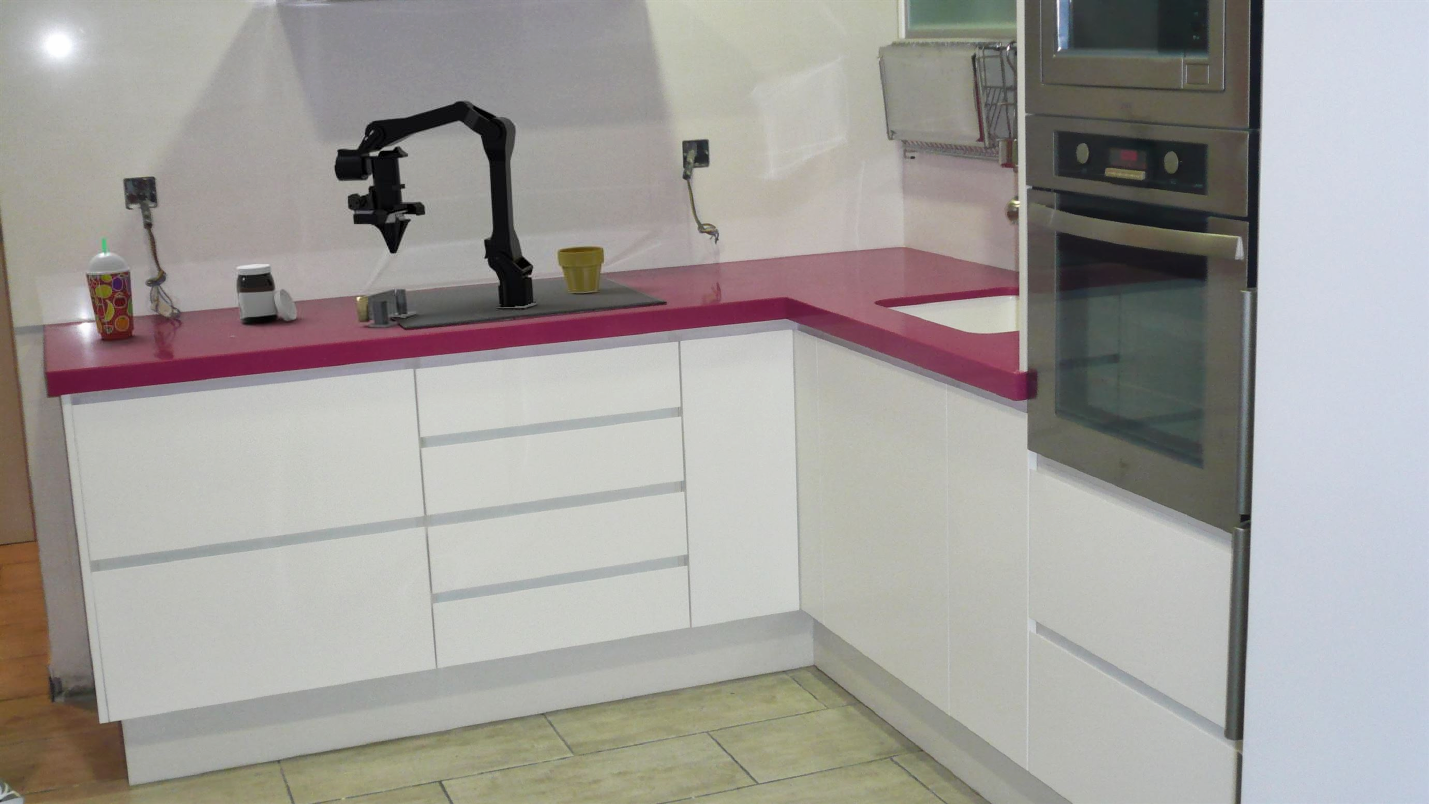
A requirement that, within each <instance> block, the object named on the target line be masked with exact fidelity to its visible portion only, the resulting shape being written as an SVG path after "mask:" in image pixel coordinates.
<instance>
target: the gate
mask: <svg viewBox="0 0 1429 804" xmlns="http://www.w3.org/2000/svg"><path fill="white" fill-rule="evenodd" d="M355 298H356V307H357V317H358V319H357V320H358V323H370V322H371V321H374V314H373V304H372V302H373V301H377V300H386V301H387V312H388V315H392V314H395V313H397V306H396V295H395V288H389V289H385V290H382V291H381V290H380V291H378V292H374V293H370V294H366V295H361V296H356V297H355Z"/></svg>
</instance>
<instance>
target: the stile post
mask: <svg viewBox="0 0 1429 804" xmlns="http://www.w3.org/2000/svg"><path fill="white" fill-rule="evenodd" d="M372 304H373V314H374V320H373V322H374V323H371V324H369V328H382V329H385V328H389V327H393V326H396V325H398V321H389V318H388V312H387V301H386V300H377V301H373V302H372Z"/></svg>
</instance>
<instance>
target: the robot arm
mask: <svg viewBox="0 0 1429 804" xmlns="http://www.w3.org/2000/svg"><path fill="white" fill-rule="evenodd" d="M457 122H461V123H463V124H464V125H465V126H466V127H467V128H469V129H470V130H471V131H472V132H473V133H476V134H477V135H479V136H480V140H481V144H482V147H483V151H484V153H485V155H486V158H487V159H488V160H487V161H488V164H489V165H488V166H489V182H490V185H489V186H490V200H491V201H490V202H491V216H492V217H491V219H492V231H491V236H489V237H487V238H484V240H483V244H484V248H485V249H484V251H485V253H484V257H483V259H484V260H487V264H488V267H489V268H491V270H492V271H493V272H495V274H496V276H497V279H498V282H499V285H498V286H497V289H498V290H497V291H498V300H499V301H498V304H499V305H497V307H515V306H525V305H528V304H531V303H534V302H535V301H534V300H535V299H534V289H533V288H534V287H533V277H532V273H533V270H534V265H533V264H532V263H531V262H530V261H529V260H528V259H527V258H526V257H525V256H523V253H522V248H521V247H522V246H521V243H520V239H519V237H518V235H517V233H516V230H515V226H514V207H513V205H514V204H513V189H512V187H513V186H512V185H513V184H512V171H511V169H512V167H511V161H512V155H513V152H514V149H515V141H516V135H517V134H516V133H517V129H516V125H515V123H514V122H513V121H512V120H511V119H510V118H507V117H506V116H501V117H500V116H499V117H498V116H497V115H495V114H493V113H491V112H489V111H487V110H485V109H483V108H481V107H478V106H477V105H475V104H473V103H472V102H471V101H470V100H458V101H455V102H454V103H451V104H449V105H448V104H447V105H444V106H442V107H438V108H434V109H431V110H427V111H424V112H421V113H420V112H419V113H417V114H413V115H411V116H410V115H409V116H406V117H397V118H386V119H378V120H372V121H369V122H368V123H367V124H366V126H365V131H364V137H363V138H362V140H361V142H360V143H359V146H358V147H357V148H356V149H354V148H353V149H351V148H339V149H337V151H336V152H337V156H336V158H335V162H334V163H335V164H334V167H333V168H334V173H335V177H336V178H337V180H338V181H339V182H357V181H359V182H360V181H363V182H364V181H368V179H369V177H370V176H372V185H369V186H368V188H367V189H368V190H367V191H368V192H367V193H365V194H364V195H360V194H359V193H358V192H357V193H351V194H349V195H347V207H348V210H350V211H353V214H352V219H353V221H352V222H353V225H371V226H374V227H375V228H376V229H377V230H379V232H380V233H381V235H382V237H383V239H384V242H385V244H386V247H387V249H388V251H389V253H390V254H392V255H393V254H397V253H398V251H399V247H400V244H401V243H402V240H403V237H404V234H405V232H406V229H407V228H408V225H409V223H410V222H411V221H412V219H410V218H406V216H405V215H409V216H410V215H413V216H414V215H415V216H416V217H417V216H419V217H420V216H424V215H426V209H425V208H426V206H425V204H423V203H422V202H421V201H403V195H402V194H403V193H402V190H403V189H406V183H402V181H401V172H400V159H403V158H408V156H409V154H408V152H406V151H405V150H403V149H402V147H401V146H395V145H398V144H399V143H401V142H403V141H406V140H407V139H408V138H410V137H411V136H413V135H416V134H419V133H421V132H426V131H429V130H433V129H437V128H440V127H443V126H447V125H450V124H454V123H457ZM393 146H395V147H394V148H393V149H388V150H387V149H386V150H382V149H384V148H388V147H393ZM376 152H378V154H377V155H370V153H371V154H372V153H376ZM530 276H531V277H530Z"/></svg>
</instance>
